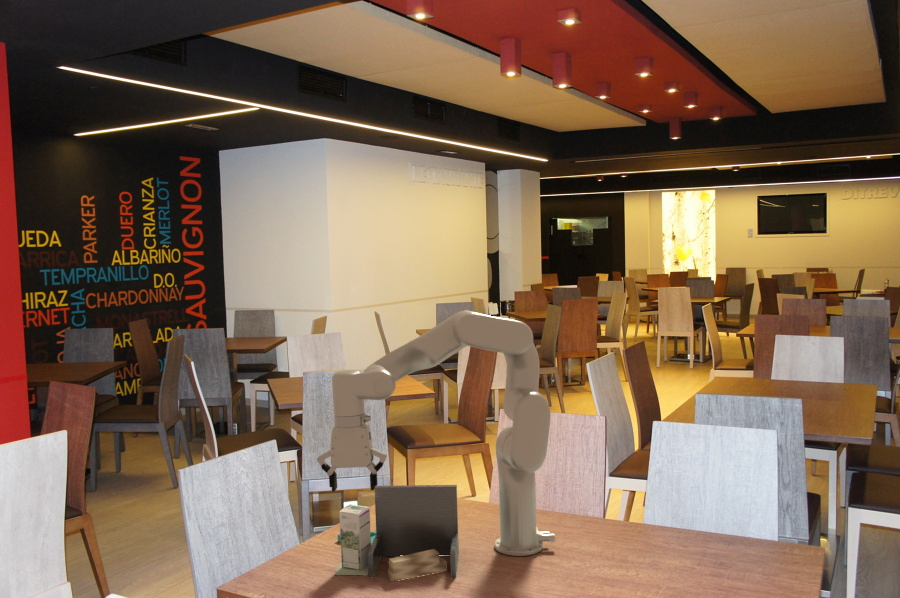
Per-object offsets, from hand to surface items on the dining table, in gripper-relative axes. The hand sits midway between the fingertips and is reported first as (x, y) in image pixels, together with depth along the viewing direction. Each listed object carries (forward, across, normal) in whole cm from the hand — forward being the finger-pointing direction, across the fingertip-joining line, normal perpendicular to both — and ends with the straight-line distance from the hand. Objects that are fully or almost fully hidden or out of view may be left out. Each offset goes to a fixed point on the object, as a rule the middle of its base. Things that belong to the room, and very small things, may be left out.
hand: (353, 489), depth 185 cm
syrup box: (+19, 0, 0) cm, 19 cm away
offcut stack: (+20, -15, +5) cm, 26 cm away
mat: (+20, +1, 0) cm, 20 cm away
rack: (+20, -14, -1) cm, 24 cm away
